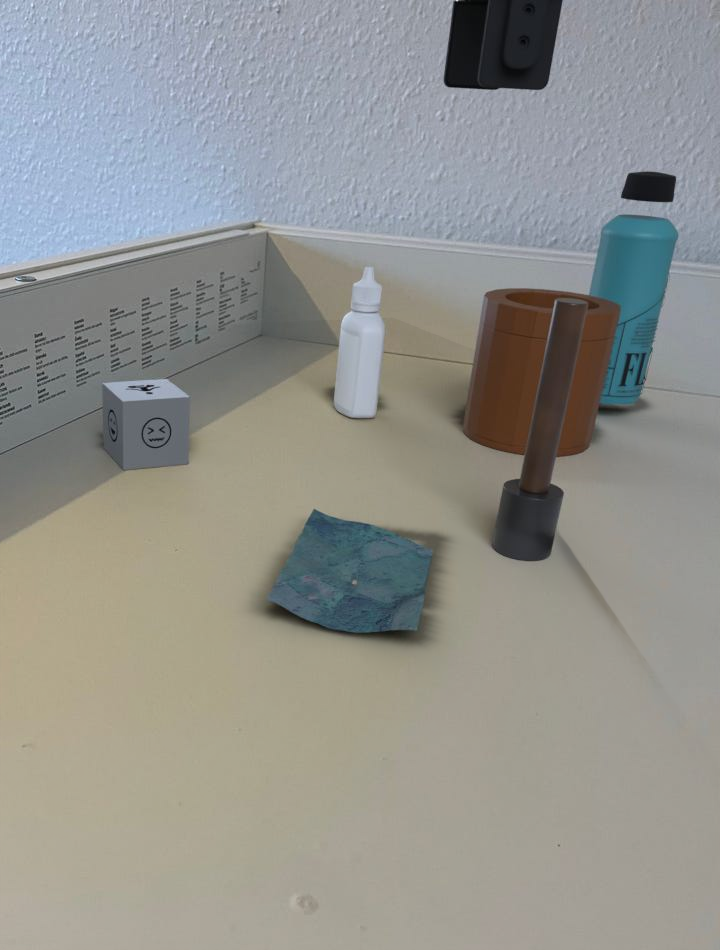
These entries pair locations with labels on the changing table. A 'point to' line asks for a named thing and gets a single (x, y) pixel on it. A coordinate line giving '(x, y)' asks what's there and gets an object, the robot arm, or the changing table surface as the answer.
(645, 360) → the beverage bottle
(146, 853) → the changing table surface
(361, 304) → the eye dropper bottle
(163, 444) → the dice cube
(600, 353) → the brown wooden cup
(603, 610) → the changing table surface
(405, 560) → the terrain model
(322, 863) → the changing table surface
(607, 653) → the changing table surface
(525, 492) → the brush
